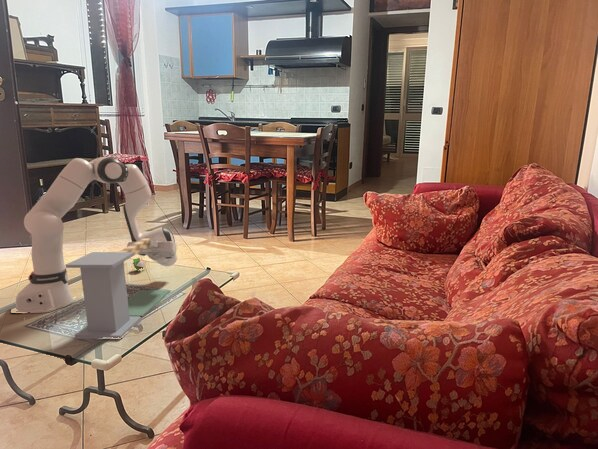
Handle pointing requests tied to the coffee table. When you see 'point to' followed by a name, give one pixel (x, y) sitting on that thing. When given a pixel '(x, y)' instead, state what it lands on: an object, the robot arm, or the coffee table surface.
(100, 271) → the pedestal
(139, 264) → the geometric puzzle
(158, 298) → the mat
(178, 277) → the coffee table surface
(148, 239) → the checkered wooden bar
